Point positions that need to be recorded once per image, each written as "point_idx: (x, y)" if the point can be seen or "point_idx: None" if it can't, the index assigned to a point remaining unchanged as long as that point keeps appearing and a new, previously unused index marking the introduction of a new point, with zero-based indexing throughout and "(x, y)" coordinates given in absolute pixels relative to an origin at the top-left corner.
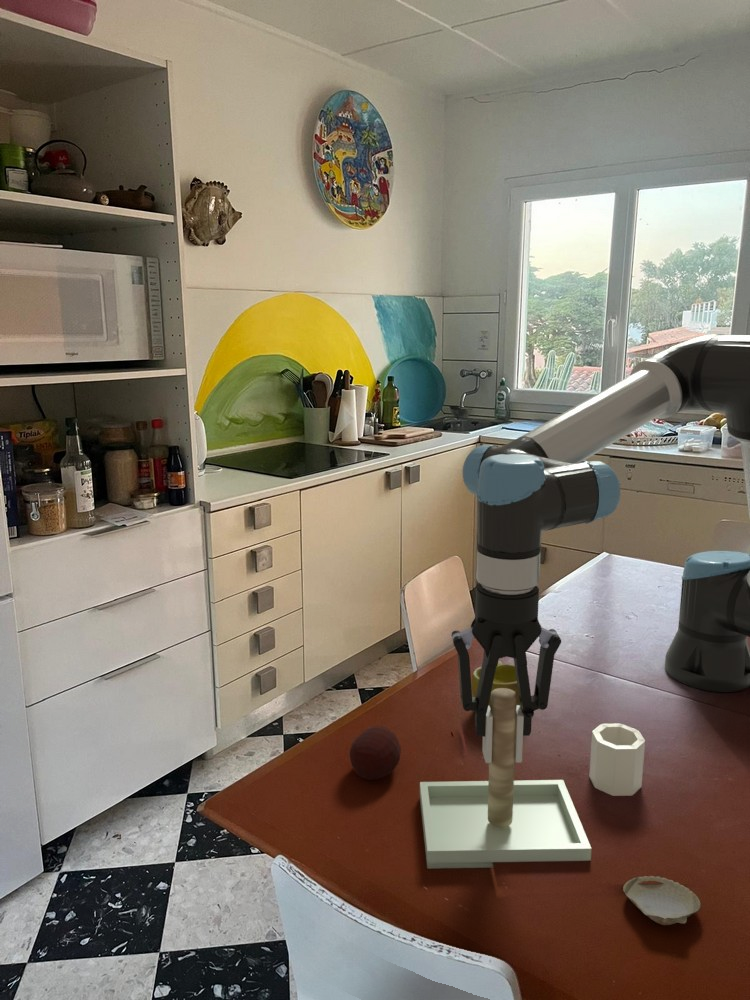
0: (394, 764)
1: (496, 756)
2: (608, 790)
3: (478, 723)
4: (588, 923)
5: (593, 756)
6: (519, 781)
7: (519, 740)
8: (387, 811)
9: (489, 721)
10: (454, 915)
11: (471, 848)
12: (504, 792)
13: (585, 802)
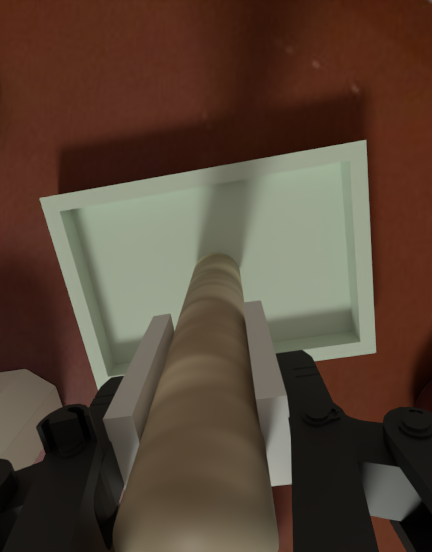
0: (427, 398)
1: (228, 313)
2: (24, 382)
3: (314, 381)
4: (57, 41)
5: (29, 443)
6: None
7: (147, 351)
8: (424, 292)
9: (268, 381)
10: (300, 18)
11: (274, 161)
12: (206, 275)
13: (70, 359)
